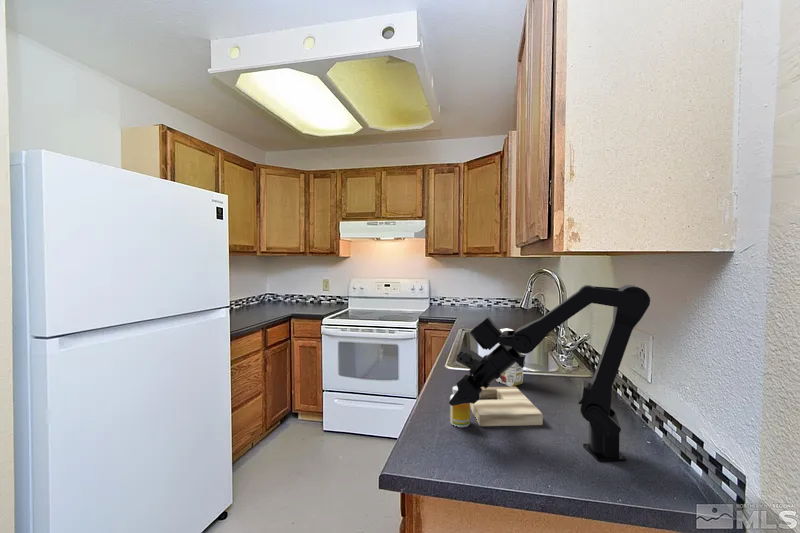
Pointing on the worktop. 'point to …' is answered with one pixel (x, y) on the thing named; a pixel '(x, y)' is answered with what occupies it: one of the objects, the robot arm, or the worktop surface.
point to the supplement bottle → (459, 412)
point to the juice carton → (511, 372)
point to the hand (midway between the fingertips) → (455, 397)
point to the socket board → (505, 408)
